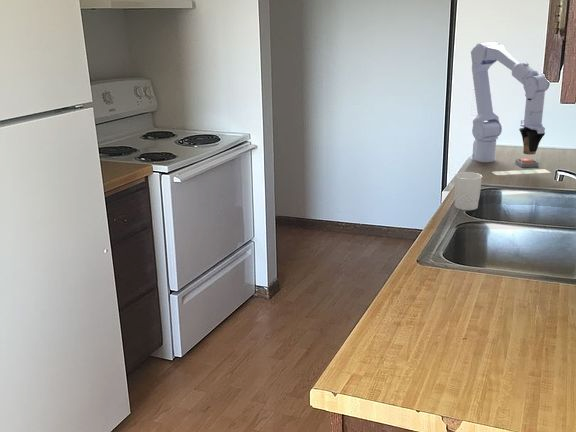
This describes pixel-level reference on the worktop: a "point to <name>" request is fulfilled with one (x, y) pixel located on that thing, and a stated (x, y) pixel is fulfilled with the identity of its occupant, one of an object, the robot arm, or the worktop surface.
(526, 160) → the button
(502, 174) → the board
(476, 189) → the white cup
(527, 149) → the brown wooden cylinder
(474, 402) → the worktop surface
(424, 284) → the worktop surface
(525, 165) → the button housing
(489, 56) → the robot arm
